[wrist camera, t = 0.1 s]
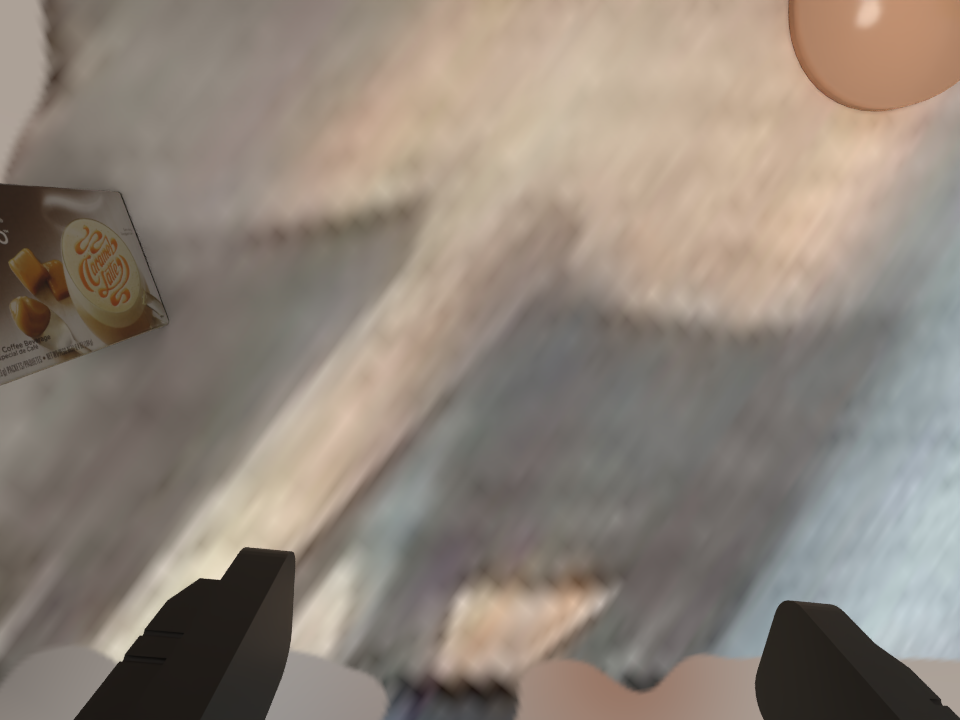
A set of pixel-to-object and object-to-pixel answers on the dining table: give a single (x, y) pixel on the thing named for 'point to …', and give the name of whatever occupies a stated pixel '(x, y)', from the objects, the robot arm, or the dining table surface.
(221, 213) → the dining table surface
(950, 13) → the terracotta saucer
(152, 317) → the coffee box
